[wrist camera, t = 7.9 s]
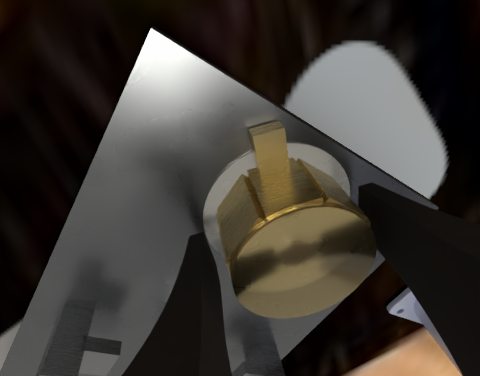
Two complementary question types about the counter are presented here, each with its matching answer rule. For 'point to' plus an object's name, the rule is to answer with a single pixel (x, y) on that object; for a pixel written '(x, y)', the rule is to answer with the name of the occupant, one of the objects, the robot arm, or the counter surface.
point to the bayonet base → (167, 220)
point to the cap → (291, 233)
